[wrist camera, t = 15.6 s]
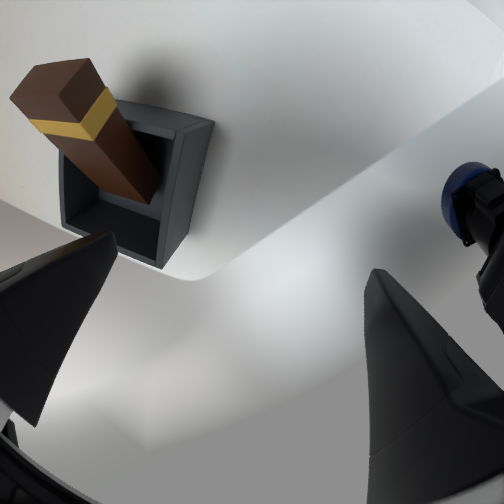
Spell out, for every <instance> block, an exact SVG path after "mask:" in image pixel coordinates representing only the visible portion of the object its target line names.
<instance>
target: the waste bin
mask: <svg viewBox="0 0 504 504" xmlns="http://www.w3.org/2000/svg"><path fill="white" fill-rule="evenodd" d="M114 100H115V99H114ZM115 101H116V103H117V107H118V109H119V111H120V112H121V114H122V116H123V117H124V119H125V121H126V122H127V124H128V126H129V127H130V129H131V131H132V132H133V134H134V136H135V137H136V139H137V141H138V142H139V144H140V145H141V147H142V149H143V150H144V152H145V153H146V155H147V157H148V158H149V160H150V162H151V163H152V165H153V166H154V168H155V170H156V171H157V173H158V174H159V176H160V177H161V182H160V184H159V186H158V188H157V190H156V192H155V194H154V196H153V198H152V200H151V203H150V205H146V204H143V203H140V202H137V201H134V200H131V199H127V198H124V197H121V196H118V195H115V194H112V193H108V192H105V191H103V190H101V189H100V188H99V187H98V186H97V185H96V184H95V183H94V182H93V181H92V180H91V179H89V178H88V177H87V176H86V175H85V174H84V173H83V172H82V171H81V170H80V169H79V168H78V167H77V166H76V165H75V164H74V163H72V162H71V161H70V160H69V159H68V158H67V157H66V156H65V155H64V154H63V153H62V152H61V151H60V150H59V197H60V212H61V224H62V227H63V228H65V229H68V230H70V231H72V232H74V233H76V234H79V235H81V236H83V237H85V236H88V235H91V234H93V233H96V232H98V231H101V230H109V231H112V232H113V233H114V235H115V240H116V244H117V249H118V252H120V253H122V254H125V255H127V256H129V257H132V258H134V259H137V260H139V261H141V262H144V263H146V264H149V265H151V266H154V267H157V268H159V269H163V267H164V266H165V264H166V263H167V262H168V260H169V259H170V257H171V256H172V255H173V253H174V252H175V250H176V249H177V248H178V246H179V245H180V243H181V242H182V241H183V239H184V238H185V237H186V235H187V234H188V230H189V226H190V221H191V216H192V211H193V207H194V202H195V198H196V193H197V189H198V185H199V181H200V176H201V172H202V168H203V164H204V160H205V156H206V152H207V148H208V145H209V141H210V137H211V133H212V130H213V126H214V122H215V121H212V120H208V119H205V118H201V117H197V116H193V115H189V114H185V113H181V112H177V111H172V110H168V109H163V108H159V107H154V106H149V105H144V104H139V103H133V102H127V101H122V100H115Z"/></svg>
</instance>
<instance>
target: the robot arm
mask: <svg viewBox="0 0 504 504" xmlns="http://www.w3.org/2000/svg"><path fill="white" fill-rule="evenodd" d="M495 172H496V175H495ZM455 195H456V198H454V196H455ZM450 199H451V202H452V205H453V209H454V212H455V216H456V219H457V223H458V226H459V230H460V234H461V238H462V242H463V245H464V246H465V247H469V246H470V245H472V244H474V243H477V244H478V245H479V246H480V248H481V249H482V250H483V251H484V253H485V254H486V255H487V259H486V261H485V263H484V265H483V267H482V269H481V271H479V272H478V274H477V276H476V278H477V281H478V285H479V294H480V297H481V299H482V302H483V306H484V309H485V311H486V313H487V314H488V315H489V316H490V317H491V318H492V319H493V320H494V321H495V322H496V323H497V324H498V325H499V327H500V328H501V330H502V332H503V334H504V185H503V183H502V178H501V174H500V171H499V169H497V168H493V169H491V170H489V171H487V172H484V173H482V174H480V175H478V176H477V177H475V178H473V179H471V180H470V181H468V182H467V183H466V184H465V185H463V186H461V187H459V188H458V189H456V190H454V191H452V192H451V194H450ZM467 241H468V242H467ZM466 242H467V243H466ZM117 255H118V249H117V244H116V240H115V235H114V233H113V232H112V231H109V230H101V231H98V232H96V233H93V234H91V235H88V236H85V237H83V238H80V239H78V240H75V241H73V242H70V243H68V244H65V245H63V246H60V247H58V248H55V249H53V250H51V251H48V252H46V253H43V254H41V255H39V256H37V257H34V258H32V259H30V260H27V261H26V262H23V263H20V264H18V265H16V266H14V267H11V268H9V269H7V270H5V271H2V272H0V504H101V503H99V502H97V501H95V500H93V499H92V498H90V497H88V496H86V495H84V494H83V493H81V492H79V491H78V490H76V489H74V488H73V487H71V486H70V485H68V484H66V483H65V482H63V481H62V480H60V479H59V478H57V477H56V476H54V475H53V474H51V473H50V472H49V471H47V470H46V469H44V468H43V467H42V466H40V465H39V464H37V463H36V462H35V461H34V460H32V459H31V458H30V457H28V456H27V455H26V454H25V453H24V452H22V451H21V450H20V449H19V446H18V442H17V436H16V431H15V425H14V423H13V422H12V421H11V420H10V419H9V417H10V415H11V413H12V412H13V411H14V412H15V413H17V414H18V415H19V416H20V417H22V418H23V419H24V420H26V421H27V422H28V423H29V424H31V425H32V426H33V427H36V426H37V424H38V421H39V418H40V415H41V413H42V410H43V407H44V405H45V402H46V400H47V397H48V395H49V392H50V390H51V388H52V385H53V383H54V380H55V378H56V375H57V373H58V371H59V369H60V367H61V365H62V362H63V360H64V358H65V356H66V354H67V352H68V350H69V348H70V346H71V344H72V342H73V340H74V338H75V336H76V334H77V332H78V330H79V328H80V326H81V324H82V323H83V321H84V319H85V317H86V315H87V313H88V311H89V310H90V308H91V306H92V304H93V303H94V301H95V299H96V297H97V295H98V294H99V292H100V290H101V288H102V286H103V284H104V282H105V280H106V278H107V276H108V274H109V272H110V270H111V268H112V265H113V263H114V261H115V259H116V257H117ZM364 336H365V348H366V358H367V372H368V388H369V412H370V413H369V414H370V458H369V479H368V494H367V504H504V391H503V390H502V389H501V388H500V387H498V385H497V384H496V383H495V382H494V381H493V380H492V379H491V378H490V377H489V376H488V375H487V374H486V373H485V372H484V371H483V370H482V369H481V368H480V367H479V366H478V365H477V364H476V363H475V362H474V361H473V360H472V359H471V358H470V357H469V356H468V355H467V354H466V353H465V352H464V351H463V349H462V348H461V347H460V346H459V345H458V344H457V343H456V342H455V341H454V340H453V338H452V337H451V336H448V333H447V332H446V331H445V330H444V329H443V328H442V327H441V326H440V324H439V323H438V322H437V321H436V320H435V319H434V318H433V317H432V316H431V315H430V314H429V313H428V312H427V311H426V310H425V309H424V308H423V307H422V306H421V305H420V304H419V303H418V302H417V301H416V300H415V299H414V298H413V297H412V296H411V295H410V294H409V293H408V292H407V291H406V290H405V289H404V288H403V287H402V286H401V285H400V284H399V283H398V282H397V281H396V280H395V279H394V278H393V277H392V276H391V275H389V273H388V272H387V271H385V270H382V269H373V270H372V271H371V274H370V277H369V280H368V282H367V285H366V287H365V292H364Z"/></svg>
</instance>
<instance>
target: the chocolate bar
mask: <svg viewBox="0 0 504 504" xmlns="http://www.w3.org/2000/svg"><path fill="white" fill-rule="evenodd" d="M10 100H11V101H12V102H13V103H14V104H15V105H16V106H17V107H18V108H19V109H20V110H21V111H22V113H23V114H24V115H25V116H26V117H27V118H28V120H29V121H30V122H31V123H32V124H33V125H34V126H35V128H36V129H37V130H38V131H39V132H40V133H43V134H44V135H45V136H46V137H47V138H48V139H49V140H50V141H51V142H52V143H53V144H54V145H55V146H56V147H57V148H58V149H59V150H60V151H61V152H62V153H63V154H64V155H65V156H66V157H67V158H68V159H69V160H70V161H71V162H72V163H74V164H75V165H76V166H77V167H78V168H79V169H80V170H81V171H82V172H83V173H84V174H85V175H86V176H87V177H88V178H89V179H91V180H92V181H93V182H94V183H95V184H96V185H97V186H98V187H99V188H100V189H101V190H103V191H105V192H108V193H112V194H115V195H118V196H121V197H124V198H127V199H131V200H134V201H137V202H140V203H143V204H146V205H150V203H151V200H152V198H153V196H154V194H155V192H156V190H157V188H158V186H159V184H160V182H161V177H160V176H159V174H158V173H157V171H156V170H155V168H154V166H153V165H152V163H151V162H150V160H149V158H148V157H147V155H146V153H145V152H144V150H143V149H142V147H141V145H140V144H139V142H138V141H137V139H136V137H135V136H134V134H133V132H132V131H131V129H130V127H129V126H128V124H127V122H126V121H125V119H124V117H123V116H122V114H121V112H120V111H119V109H118V107H117V103H116V101H115V100H114V98H113V96H112V94H111V93H110V91H109V89H108V87H105V85H104V83H103V81H102V80H101V78H100V76H99V74H98V73H97V71H96V69H95V67H94V65H93V64H92V62H91V60H90V59H89V58H84V59H75V60H67V61H60V62H53V63H47V64H41V65H36V66H34V67H33V68H32V69H31V71H30V72H29V73H28V74H27V76H26V77H25V78H24V79H23V80H22V82H21V83H20V84H19V86H18V87H17V88H16V90H15V91H14V92H13V94H12V95H11V96H10Z"/></svg>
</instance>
